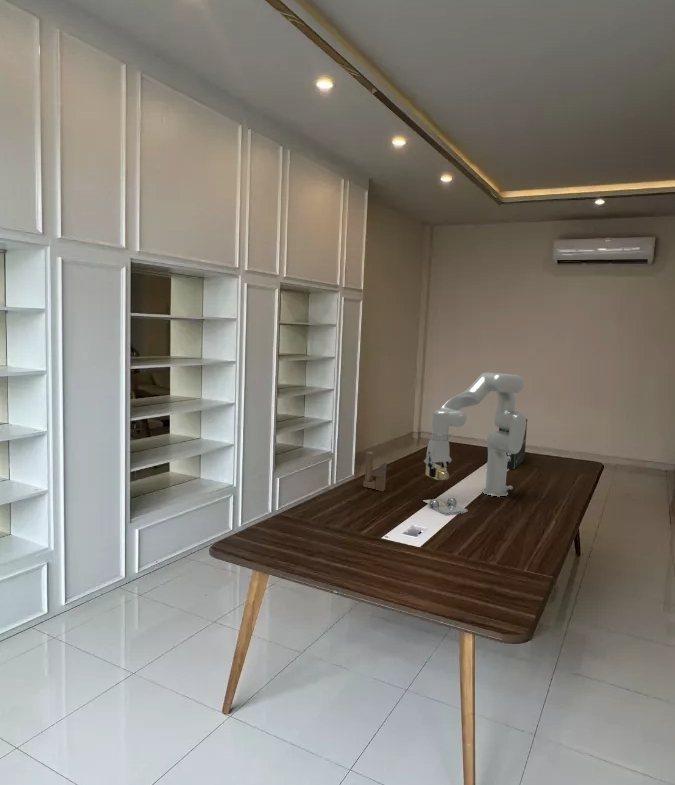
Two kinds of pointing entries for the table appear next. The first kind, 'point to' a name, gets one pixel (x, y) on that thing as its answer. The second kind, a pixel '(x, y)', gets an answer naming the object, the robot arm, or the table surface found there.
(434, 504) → the hinge base
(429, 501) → the pad
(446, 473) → the brass knob plate
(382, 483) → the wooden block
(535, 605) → the table surface
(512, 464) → the router box
